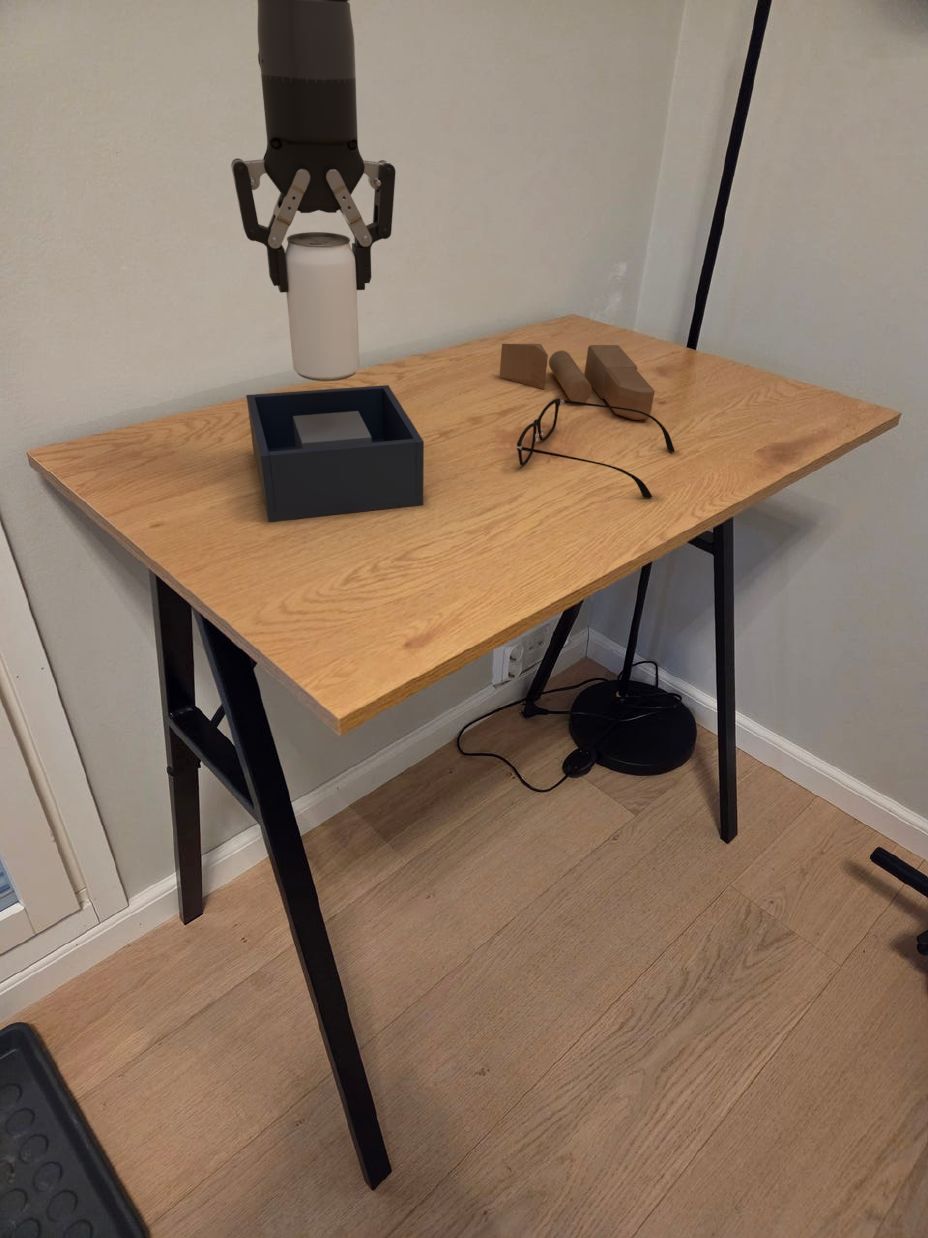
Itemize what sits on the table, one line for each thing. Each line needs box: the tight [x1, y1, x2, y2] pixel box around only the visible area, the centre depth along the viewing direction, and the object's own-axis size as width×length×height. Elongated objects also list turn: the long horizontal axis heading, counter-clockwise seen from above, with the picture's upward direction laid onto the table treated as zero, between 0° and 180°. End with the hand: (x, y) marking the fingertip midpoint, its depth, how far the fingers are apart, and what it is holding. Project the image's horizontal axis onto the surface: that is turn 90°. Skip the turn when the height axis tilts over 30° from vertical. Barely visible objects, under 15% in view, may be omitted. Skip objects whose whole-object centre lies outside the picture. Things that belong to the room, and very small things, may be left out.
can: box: [285, 231, 360, 382], centre depth 74 cm, size 6×6×12 cm
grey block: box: [293, 411, 372, 449], centre depth 83 cm, size 7×7×5 cm
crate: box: [246, 384, 425, 523], centre depth 83 cm, size 16×16×7 cm
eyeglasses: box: [515, 397, 676, 499], centre depth 90 cm, size 16×16×4 cm
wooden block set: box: [499, 343, 656, 421], centre depth 105 cm, size 17×6×18 cm
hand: (321, 288), depth 73 cm, fingers closed on can, 6 cm apart
